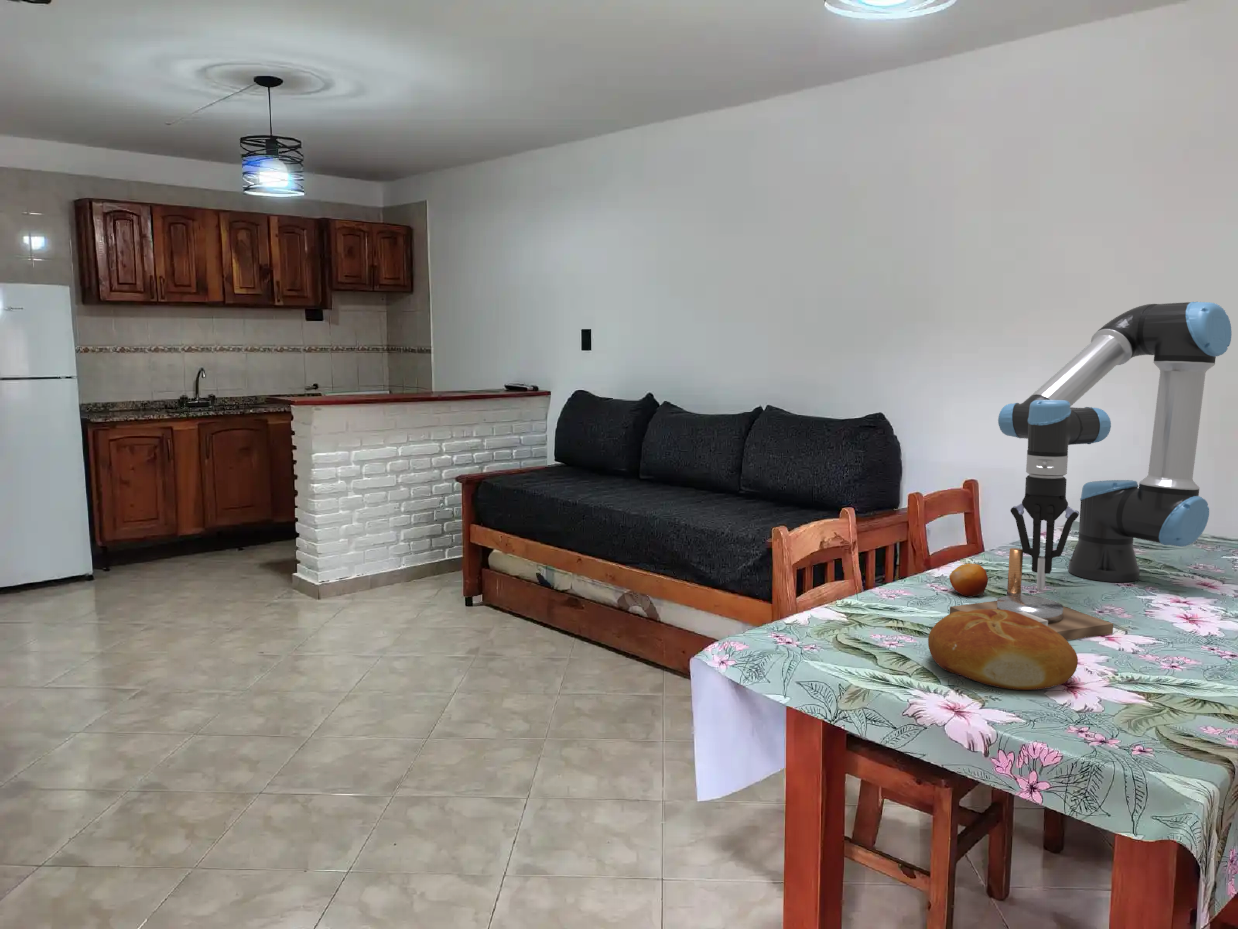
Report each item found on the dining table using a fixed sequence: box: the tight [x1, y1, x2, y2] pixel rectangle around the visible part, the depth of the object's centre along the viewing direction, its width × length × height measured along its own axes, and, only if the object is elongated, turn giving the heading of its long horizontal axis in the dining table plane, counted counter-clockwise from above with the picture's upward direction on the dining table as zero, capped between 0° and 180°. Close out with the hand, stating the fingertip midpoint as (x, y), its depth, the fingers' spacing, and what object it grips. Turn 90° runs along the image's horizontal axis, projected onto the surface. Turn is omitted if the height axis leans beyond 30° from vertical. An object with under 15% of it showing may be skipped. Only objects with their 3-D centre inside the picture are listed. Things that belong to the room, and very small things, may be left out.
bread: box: [927, 609, 1079, 691], centre depth 151 cm, size 23×23×10 cm
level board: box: [949, 595, 1114, 641], centre depth 176 cm, size 22×20×4 cm
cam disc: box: [996, 547, 1064, 623], centre depth 178 cm, size 16×12×11 cm
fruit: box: [949, 562, 989, 597], centre depth 198 cm, size 8×8×8 cm
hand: (1040, 588), depth 183 cm, fingers closed
